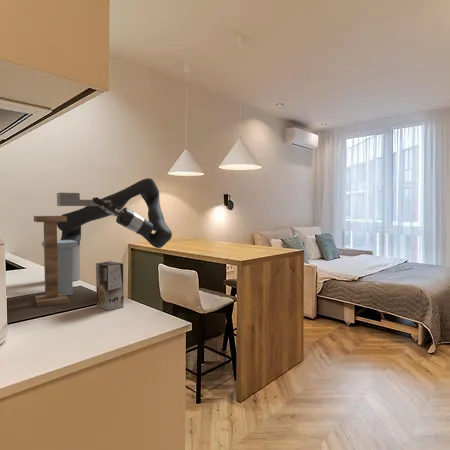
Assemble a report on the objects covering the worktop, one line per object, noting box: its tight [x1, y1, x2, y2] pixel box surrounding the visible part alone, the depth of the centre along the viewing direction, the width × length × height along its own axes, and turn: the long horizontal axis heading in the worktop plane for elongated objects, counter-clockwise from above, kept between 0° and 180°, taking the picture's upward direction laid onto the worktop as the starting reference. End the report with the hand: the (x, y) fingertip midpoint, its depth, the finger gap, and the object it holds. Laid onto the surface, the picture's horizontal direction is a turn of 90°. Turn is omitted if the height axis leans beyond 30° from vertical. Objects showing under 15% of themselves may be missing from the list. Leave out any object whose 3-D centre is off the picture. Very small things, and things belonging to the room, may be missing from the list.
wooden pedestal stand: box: [33, 215, 69, 308], centre depth 132 cm, size 10×10×33 cm
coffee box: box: [95, 260, 125, 311], centre depth 127 cm, size 9×6×16 cm
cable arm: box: [56, 192, 111, 207], centre depth 138 cm, size 7×20×5 cm, turn 124°
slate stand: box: [41, 239, 78, 296], centre depth 145 cm, size 12×12×22 cm
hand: (93, 199), depth 140 cm, fingers closed on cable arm, 3 cm apart
